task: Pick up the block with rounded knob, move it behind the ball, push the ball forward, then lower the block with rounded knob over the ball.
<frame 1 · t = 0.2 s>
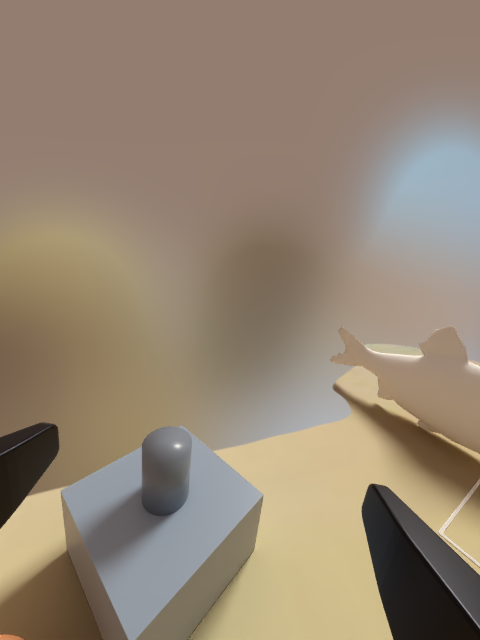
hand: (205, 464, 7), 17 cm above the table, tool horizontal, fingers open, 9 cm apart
fish: (416, 426, 38), on the table
block with rounded knob: (163, 549, 19), on the table
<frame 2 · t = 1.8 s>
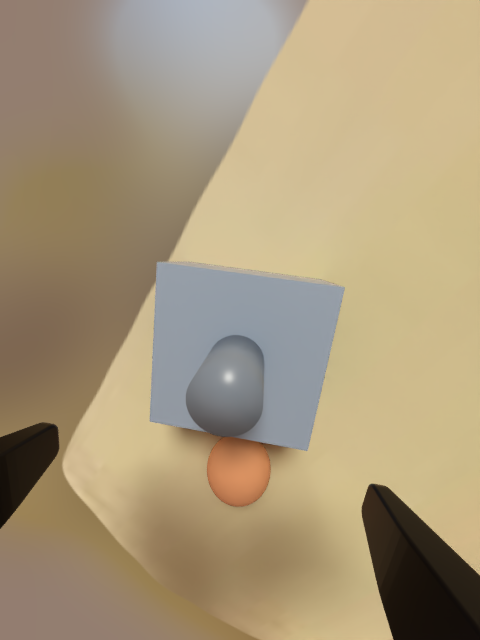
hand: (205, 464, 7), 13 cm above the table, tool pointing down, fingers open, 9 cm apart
ball: (238, 467, 20), on the table
block with rounded knob: (245, 333, 20), on the table
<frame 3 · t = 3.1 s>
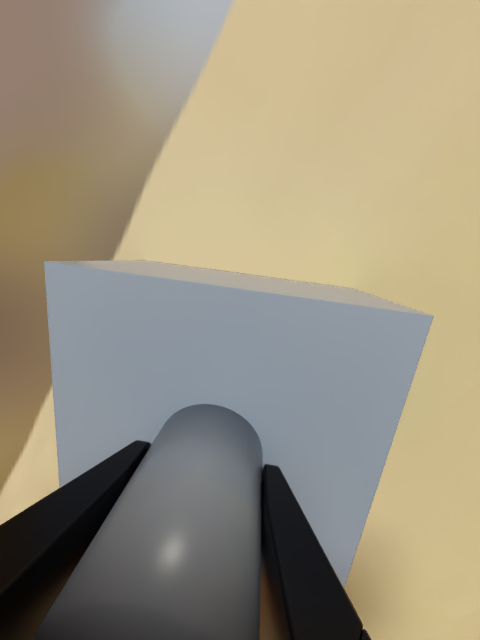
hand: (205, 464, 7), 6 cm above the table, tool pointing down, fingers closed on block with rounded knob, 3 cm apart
block with rounded knob: (233, 370, 13), on the table, touching gripper
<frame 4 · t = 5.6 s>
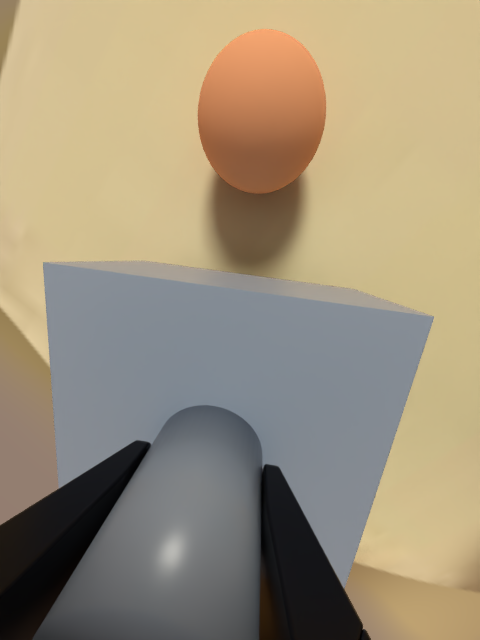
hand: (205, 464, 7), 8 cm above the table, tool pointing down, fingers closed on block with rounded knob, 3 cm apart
ball: (260, 124, 10), on the table
block with rounded knob: (233, 370, 13), point 2 cm above the table, touching gripper
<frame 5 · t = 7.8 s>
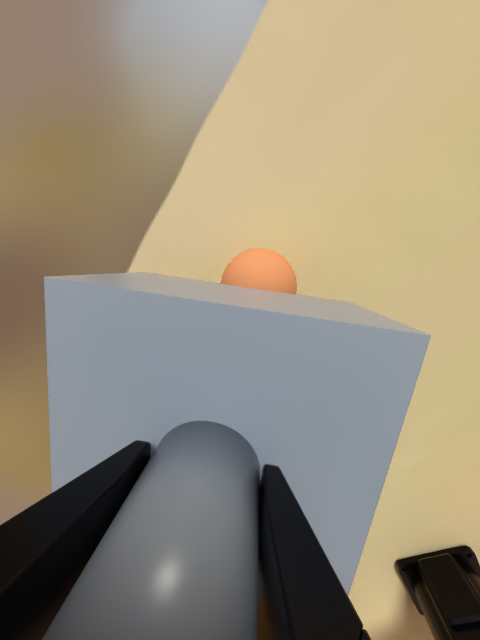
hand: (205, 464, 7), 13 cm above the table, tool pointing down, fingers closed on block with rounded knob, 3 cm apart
ball: (258, 287, 17), on the table
block with rounded knob: (231, 382, 13), point 7 cm above the table, touching gripper
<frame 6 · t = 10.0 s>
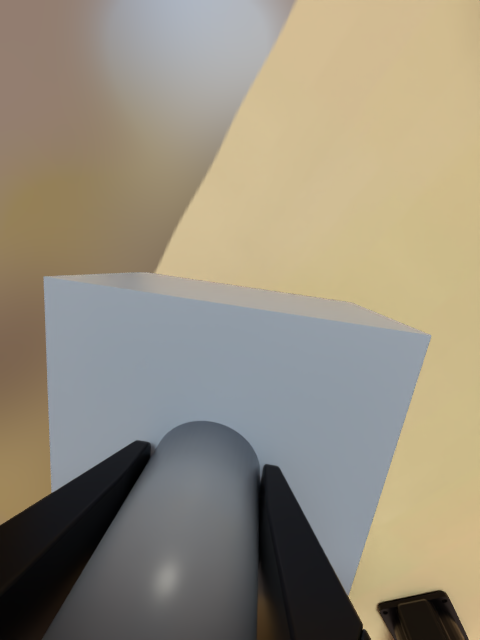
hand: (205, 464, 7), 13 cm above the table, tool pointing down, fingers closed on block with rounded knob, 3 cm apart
block with rounded knob: (231, 382, 13), point 7 cm above the table, touching gripper
when the fingers open (7 cm above the table, at t = 11.6 s): block with rounded knob stays where it is, on the table.
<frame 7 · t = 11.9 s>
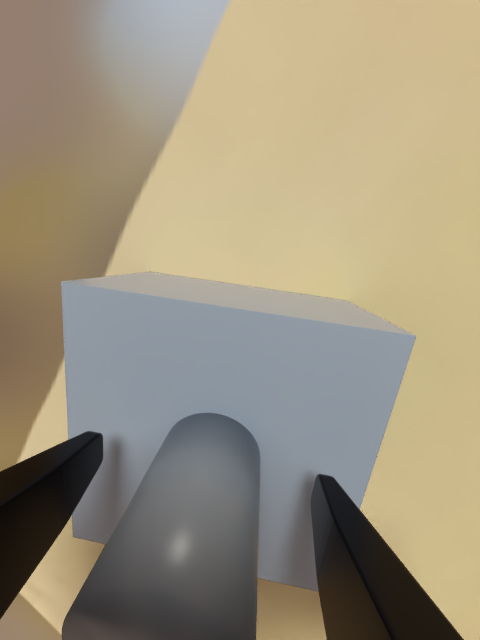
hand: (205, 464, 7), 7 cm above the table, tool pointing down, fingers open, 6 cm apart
block with rounded knob: (233, 376, 14), on the table
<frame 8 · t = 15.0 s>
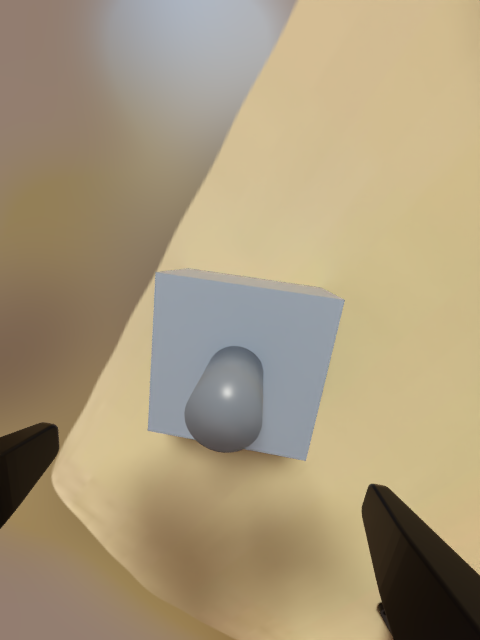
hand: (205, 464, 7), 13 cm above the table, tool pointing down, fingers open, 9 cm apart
block with rounded knob: (244, 340, 20), on the table
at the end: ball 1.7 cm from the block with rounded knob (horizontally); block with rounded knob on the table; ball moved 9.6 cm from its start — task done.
